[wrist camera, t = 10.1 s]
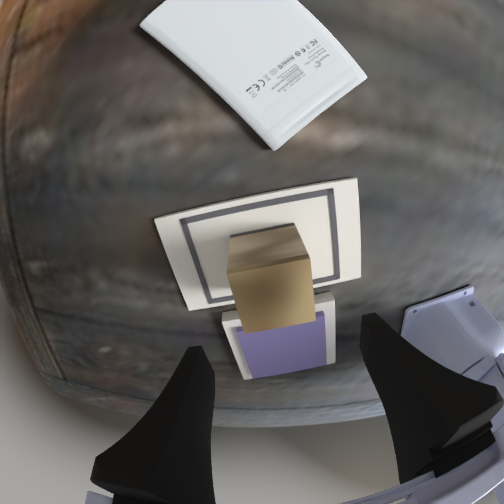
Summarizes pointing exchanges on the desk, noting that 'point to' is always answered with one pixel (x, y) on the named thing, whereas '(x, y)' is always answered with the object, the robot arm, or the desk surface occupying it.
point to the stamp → (271, 278)
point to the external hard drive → (259, 59)
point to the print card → (258, 217)
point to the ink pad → (284, 343)
